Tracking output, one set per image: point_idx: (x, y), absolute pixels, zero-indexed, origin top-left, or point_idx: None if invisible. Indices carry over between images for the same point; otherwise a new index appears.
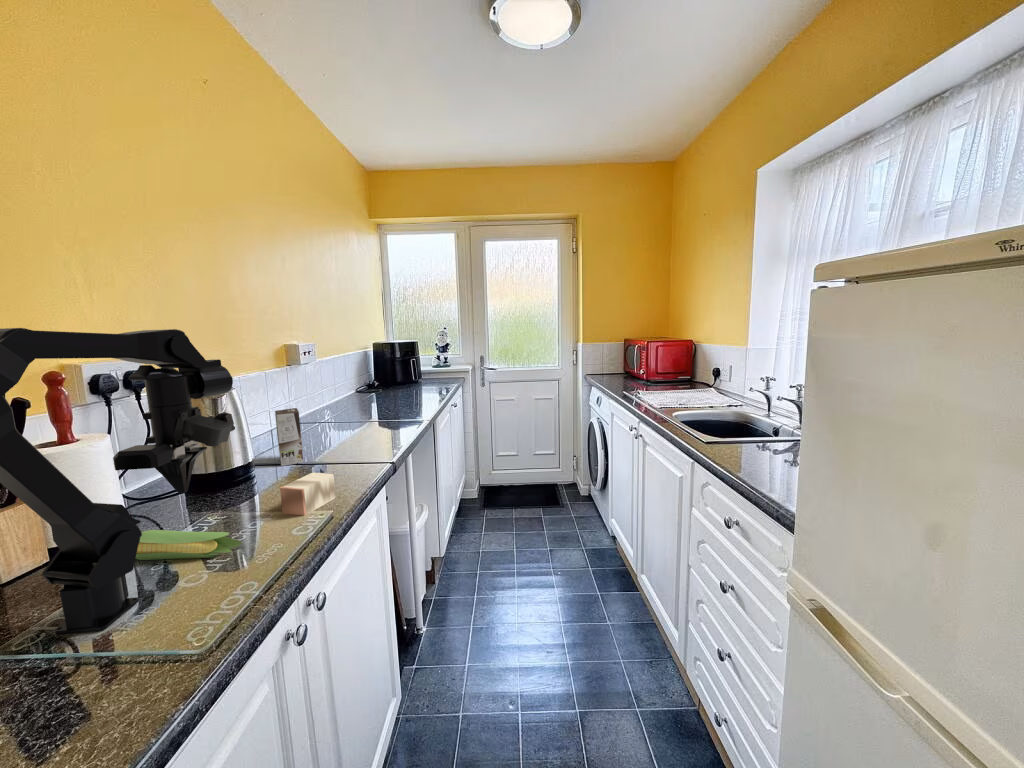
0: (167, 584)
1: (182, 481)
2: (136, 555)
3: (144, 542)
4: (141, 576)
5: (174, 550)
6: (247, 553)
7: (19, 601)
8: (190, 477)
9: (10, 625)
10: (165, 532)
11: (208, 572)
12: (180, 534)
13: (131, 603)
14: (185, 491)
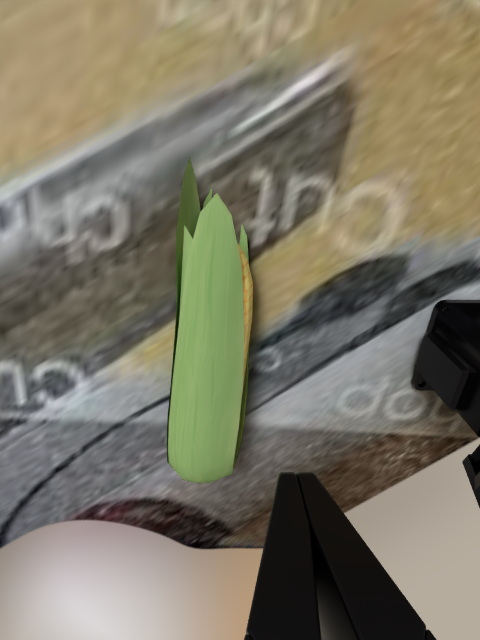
0: (371, 281)
1: (377, 562)
2: (239, 429)
3: (236, 438)
4: (307, 368)
5: (247, 351)
6: (229, 116)
7: (343, 503)
8: (269, 562)
9: (424, 466)
10: (202, 419)
11: (337, 196)
12: (212, 371)
13: (465, 305)
14: (304, 472)
